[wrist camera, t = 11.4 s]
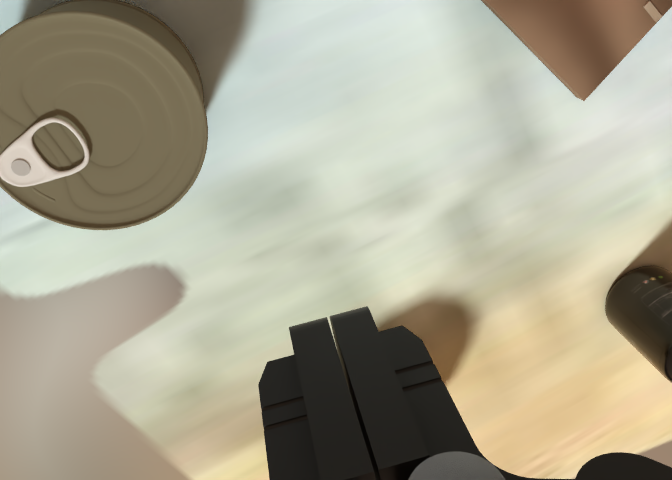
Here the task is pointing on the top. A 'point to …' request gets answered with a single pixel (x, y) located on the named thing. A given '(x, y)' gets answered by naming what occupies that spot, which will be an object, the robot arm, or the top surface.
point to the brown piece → (580, 34)
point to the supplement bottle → (645, 314)
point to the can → (99, 115)
